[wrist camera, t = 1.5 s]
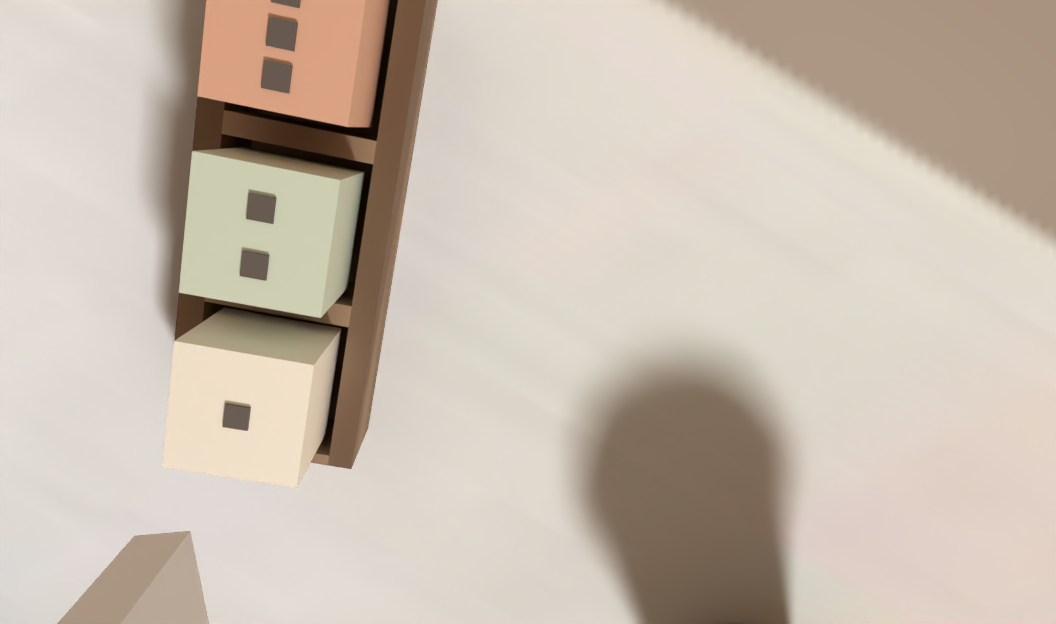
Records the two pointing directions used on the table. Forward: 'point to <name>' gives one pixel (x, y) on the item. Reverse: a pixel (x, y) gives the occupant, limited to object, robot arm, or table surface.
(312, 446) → the key one
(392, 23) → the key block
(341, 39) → the key three
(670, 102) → the table surface
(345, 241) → the key two
